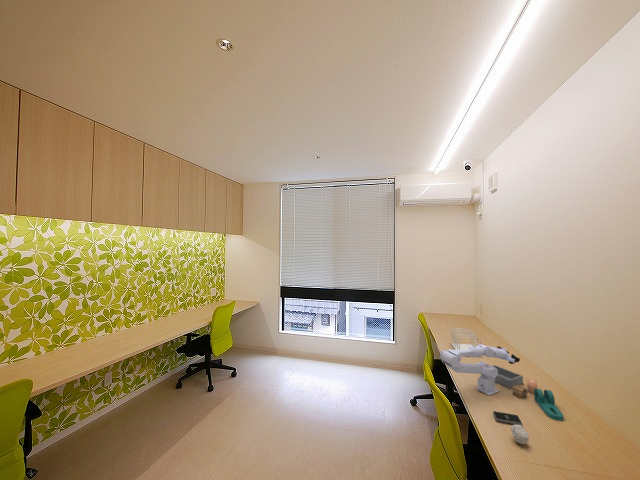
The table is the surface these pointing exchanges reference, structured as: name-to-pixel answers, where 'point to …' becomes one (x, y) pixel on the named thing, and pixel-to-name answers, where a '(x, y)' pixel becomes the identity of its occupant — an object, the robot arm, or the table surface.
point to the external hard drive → (507, 418)
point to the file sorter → (464, 346)
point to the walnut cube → (519, 391)
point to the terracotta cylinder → (531, 385)
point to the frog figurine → (519, 434)
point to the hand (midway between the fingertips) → (513, 356)
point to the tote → (508, 378)
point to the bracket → (548, 404)
